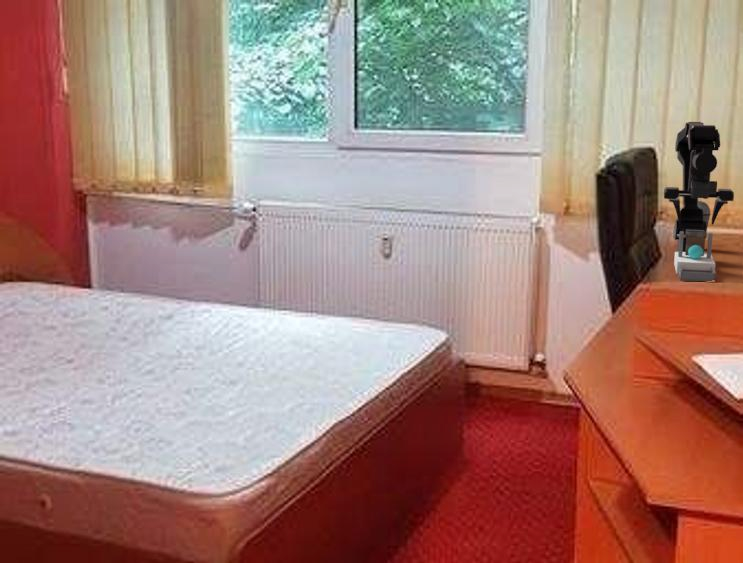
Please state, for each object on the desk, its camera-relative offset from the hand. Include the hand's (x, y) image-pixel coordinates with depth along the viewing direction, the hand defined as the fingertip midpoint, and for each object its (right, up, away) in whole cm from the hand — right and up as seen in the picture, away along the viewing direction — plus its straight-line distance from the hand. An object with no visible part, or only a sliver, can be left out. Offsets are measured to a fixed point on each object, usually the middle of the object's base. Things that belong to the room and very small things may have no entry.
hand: (695, 223), depth 269 cm
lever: (0, -9, +1) cm, 9 cm away
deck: (-1, -13, 0) cm, 13 cm away
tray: (-4, -16, -13) cm, 21 cm away
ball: (-1, -8, -4) cm, 9 cm away
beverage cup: (+12, -6, +33) cm, 36 cm away
